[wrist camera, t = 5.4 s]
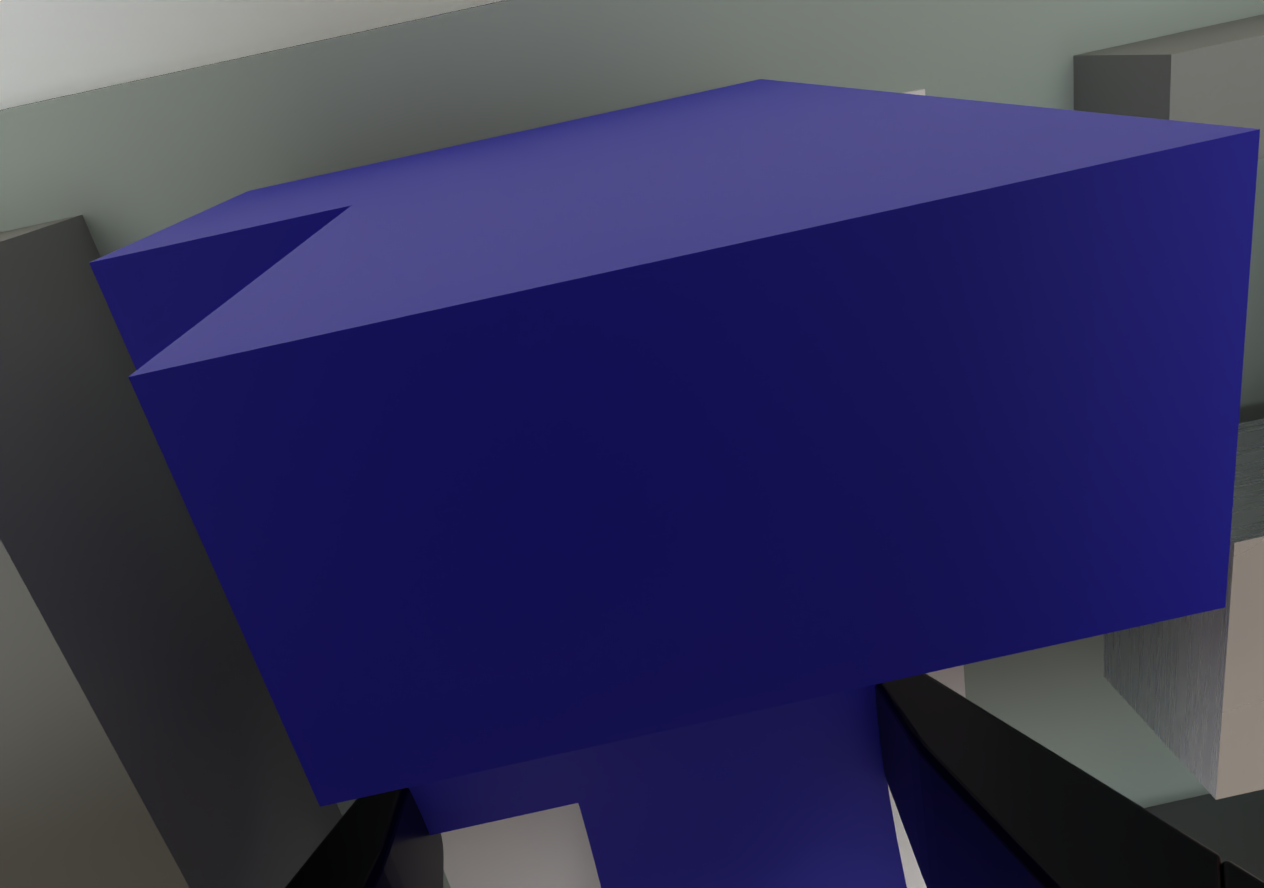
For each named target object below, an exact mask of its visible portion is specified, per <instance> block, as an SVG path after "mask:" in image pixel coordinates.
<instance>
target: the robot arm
mask: <svg viewBox="0 0 1264 888" xmlns="http://www.w3.org/2000/svg"><path fill="white" fill-rule="evenodd" d="M875 693H876V706H877V719H878V727H879V736H880V744H881V753H882V761H883V767H884V774H885V778H886V780H887V783H888V786H889V788H890V791H891V794H892V797H893V799H894V802H895V805H896V807H897V810H898V813H899V815H900V818H901V821H902V823H903V826H904V829H905V831H906V834H907V837H908V839H909V842H910V845H911V848H912V850H913V853H914V856H915V858H916V861H917V864H918V866H919V869H920V872H921V874H922V877H923V879H924V882H925V884H926V887H927V888H1264V881H1262V880H1261V879H1259V878H1257V877H1256V876H1254V875H1253V874H1251V873H1249V872H1248V871H1246V870H1244V869H1243V868H1241V867H1240V866H1238V865H1236V864H1235V863H1233V862H1231V861H1228V860H1226V861H1224V862H1223V863H1222V862H1221V857H1220V855H1219V854H1218V853H1216V852H1215V851H1213V850H1211V849H1210V848H1208V847H1206V846H1205V845H1203V844H1202V843H1200V842H1198V841H1197V840H1195V839H1193V838H1192V837H1190V836H1189V835H1187V834H1185V833H1184V832H1182V831H1180V830H1179V829H1177V828H1176V827H1174V826H1172V825H1171V824H1169V823H1168V822H1166V821H1164V820H1163V819H1161V818H1159V817H1158V816H1156V815H1155V814H1153V813H1151V812H1150V811H1148V810H1146V809H1145V808H1143V807H1142V806H1140V805H1138V804H1137V803H1135V802H1133V801H1132V800H1130V799H1129V798H1127V797H1125V796H1124V795H1122V794H1120V793H1119V792H1117V791H1116V790H1114V789H1112V788H1111V787H1109V786H1108V785H1106V784H1104V783H1103V782H1101V781H1099V780H1098V779H1096V778H1095V777H1093V776H1091V775H1090V774H1088V773H1086V772H1085V771H1083V770H1082V769H1080V768H1078V767H1077V766H1075V765H1073V764H1072V763H1070V762H1069V761H1067V760H1065V759H1064V758H1062V757H1060V756H1059V755H1057V754H1056V753H1054V752H1052V751H1051V750H1049V749H1048V748H1046V747H1044V746H1043V745H1041V744H1039V743H1038V742H1036V741H1035V740H1033V739H1031V738H1030V737H1028V736H1026V735H1025V734H1023V733H1022V732H1020V731H1018V730H1017V729H1015V728H1013V727H1012V726H1010V725H1009V724H1007V723H1005V722H1004V721H1002V720H1000V719H999V718H997V717H996V716H994V715H992V714H991V713H989V712H988V711H986V710H984V709H983V708H981V707H979V706H978V705H976V704H975V703H973V702H971V701H970V700H968V699H966V698H965V697H963V696H962V695H960V694H958V693H957V692H955V691H953V690H952V689H950V688H949V687H947V686H945V685H944V684H942V683H940V682H939V681H937V680H936V679H934V678H932V677H931V676H929V675H928V674H926V673H925V674H921V675H916V676H912V677H907V678H903V679H898V680H893V681H889V682H884V683H880V684H876V685H875ZM443 884H444V851H443V842H442V836H441V833H439V834H435V835H430V834H429V832H428V830H427V827H426V825H425V822H424V820H423V817H422V815H421V813H420V811H419V809H418V806H417V804H416V802H415V800H414V798H413V795H412V793H411V791H410V789H409V788H403V789H399V790H394V791H389V792H385V793H380V794H376V795H371V796H367V797H362V798H358V799H356V800H355V801H354V803H353V804H352V805H351V806H350V808H349V809H348V810H347V811H346V813H345V814H344V815H343V816H342V817H341V819H340V820H339V821H338V822H337V824H336V825H335V826H334V827H333V829H332V830H331V831H330V832H329V834H328V835H327V836H326V837H325V838H324V840H323V841H322V842H321V843H320V845H319V846H318V847H317V848H316V850H315V851H314V852H313V853H312V854H311V856H310V857H309V858H308V859H307V861H306V862H305V863H304V864H303V866H302V867H301V868H300V869H299V871H298V872H297V873H296V874H295V875H294V877H293V878H292V879H291V880H290V882H289V883H288V884H287V885H286V887H285V888H443Z"/></svg>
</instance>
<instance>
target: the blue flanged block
mask: <svg viewBox="0 0 1264 888" xmlns="http://www.w3.org/2000/svg"><path fill="white" fill-rule="evenodd" d="M1259 138H1260V129H1254V128H1244V127H1234V126H1224V125H1214V124H1204V123H1194V122H1184V121H1174V120H1164V119H1154V118H1144V117H1134V116H1124V115H1114V114H1104V113H1094V112H1085V111H1075V110H1065V109H1055V108H1045V107H1035V106H1025V105H1015V104H1005V103H995V102H985V101H975V100H965V99H955V98H945V97H935V96H925V95H915V94H905V93H895V92H885V91H876V90H866V89H856V88H846V87H836V86H826V85H816V84H806V83H796V82H786V81H776V80H766V79H758V80H754V81H749V82H744V83H740V84H735V85H731V86H726V87H722V88H717V89H712V90H708V91H703V92H699V93H694V94H690V95H685V96H680V97H676V98H671V99H667V100H662V101H658V102H653V103H648V104H644V105H639V106H635V107H630V108H625V109H621V110H616V111H612V112H607V113H603V114H598V115H593V116H589V117H584V118H580V119H575V120H571V121H566V122H561V123H557V124H552V125H548V126H543V127H538V128H534V129H529V130H525V131H520V132H516V133H511V134H506V135H502V136H497V137H493V138H488V139H484V140H479V141H474V142H470V143H465V144H461V145H456V146H452V147H447V148H442V149H438V150H433V151H429V152H424V153H419V154H415V155H410V156H406V157H401V158H397V159H392V160H387V161H383V162H378V163H374V164H369V165H365V166H360V167H355V168H351V169H346V170H342V171H337V172H332V173H328V174H323V175H319V176H314V177H310V178H305V179H300V180H296V181H291V182H287V183H282V184H278V185H273V186H268V187H264V188H259V189H255V190H250V191H247V192H245V193H243V194H240V195H238V196H236V197H234V198H231V199H229V200H227V201H225V202H223V203H220V204H218V205H216V206H214V207H211V208H209V209H207V210H205V211H203V212H200V213H198V214H196V215H194V216H192V217H189V218H187V219H185V220H183V221H180V222H178V223H176V224H174V225H172V226H169V227H167V228H165V229H163V230H160V231H158V232H156V233H154V234H152V235H149V236H147V237H145V238H143V239H140V240H138V241H136V242H134V243H132V244H129V245H127V246H125V247H123V248H121V249H118V250H116V251H114V252H112V253H109V254H107V255H105V256H103V257H101V258H98V259H96V260H94V261H92V262H89V264H90V266H91V268H92V271H93V273H94V275H95V277H96V280H97V282H98V284H99V286H100V289H101V291H102V293H103V295H104V298H105V300H106V302H107V305H108V307H109V309H110V311H111V314H112V316H113V318H114V320H115V323H116V325H117V327H118V330H119V332H120V334H121V336H122V339H123V341H124V343H125V345H126V348H127V350H128V352H129V354H130V357H131V359H132V361H133V364H134V366H135V368H136V370H137V371H135V372H134V373H133V374H131V375H130V376H129V377H128V378H129V380H130V382H131V384H132V387H133V389H134V391H135V393H136V396H137V398H138V400H139V402H140V405H141V407H142V409H143V411H144V414H145V416H146V418H147V420H148V422H149V425H150V427H151V429H152V431H153V434H154V436H155V438H156V440H157V443H158V445H159V447H160V449H161V452H162V454H163V456H164V458H165V461H166V463H167V465H168V467H169V470H170V472H171V474H172V476H173V479H174V481H175V483H176V485H177V488H178V490H179V492H180V494H181V496H182V499H183V501H184V503H185V505H186V508H187V510H188V512H189V514H190V517H191V519H192V521H193V523H194V526H195V528H196V530H197V532H198V535H199V537H200V539H201V541H202V544H203V546H204V548H205V550H206V553H207V555H208V557H209V559H210V561H211V564H212V566H213V568H214V570H215V573H216V575H217V577H218V579H219V582H220V584H221V586H222V588H223V591H224V593H225V595H226V597H227V600H228V602H229V604H230V606H231V609H232V611H233V613H234V615H235V618H236V620H237V622H238V624H239V626H240V629H241V631H242V633H243V635H244V638H245V640H246V642H247V644H248V647H249V649H250V651H251V653H252V656H253V658H254V660H255V662H256V665H257V667H258V669H259V671H260V674H261V676H262V678H263V680H264V683H265V685H266V687H267V689H268V692H269V694H270V696H271V698H272V700H273V703H274V705H275V707H276V709H277V712H278V714H279V716H280V718H281V721H282V723H283V725H284V727H285V730H286V732H287V734H288V736H289V739H290V741H291V743H292V745H293V748H294V750H295V752H296V754H297V757H298V759H299V761H300V763H301V765H302V768H303V770H304V772H305V774H306V777H307V779H308V781H309V783H310V786H311V788H312V790H313V792H314V795H315V797H316V799H317V801H318V804H319V806H320V807H321V806H326V805H330V804H335V803H340V802H344V801H349V800H353V799H358V798H362V797H367V796H371V795H376V794H380V793H385V792H389V791H394V790H399V789H403V788H409V789H410V791H411V793H412V795H413V798H414V800H415V802H416V804H417V806H418V809H419V811H420V813H421V815H422V817H423V820H424V822H425V825H426V827H427V830H428V832H429V834H430V835H435V834H439V833H444V832H448V831H453V830H457V829H462V828H466V827H471V826H475V825H480V824H485V823H489V822H494V821H498V820H503V819H507V818H512V817H516V816H521V815H525V814H530V813H534V812H539V811H544V810H548V809H553V808H557V807H562V806H566V805H571V804H575V803H578V804H579V807H580V811H581V814H582V818H583V821H584V825H585V828H586V832H587V836H588V839H589V843H590V847H591V851H592V854H593V858H594V862H595V866H596V870H597V874H598V878H599V882H600V886H601V888H907V886H906V881H905V876H904V871H903V866H902V861H901V856H900V851H899V846H898V841H897V836H896V830H895V824H894V819H893V813H892V808H891V802H890V796H889V789H888V783H887V780H886V778H885V774H884V767H883V761H882V753H881V744H880V736H879V727H878V719H877V706H876V693H875V685H876V684H880V683H884V682H889V681H893V680H898V679H903V678H907V677H912V676H916V675H921V674H925V673H930V672H934V671H939V670H943V669H948V668H953V667H957V666H962V665H966V664H971V663H975V662H980V661H984V660H989V659H993V658H998V657H1002V656H1007V655H1012V654H1016V653H1021V652H1025V651H1030V650H1034V649H1039V648H1043V647H1048V646H1052V645H1057V644H1061V643H1066V642H1071V641H1075V640H1080V639H1084V638H1089V637H1093V636H1098V635H1102V634H1107V633H1111V632H1116V631H1121V630H1125V629H1130V628H1134V627H1139V626H1143V625H1148V624H1152V623H1157V622H1161V621H1166V620H1170V619H1175V618H1180V617H1184V616H1189V615H1193V614H1198V613H1202V612H1207V611H1211V610H1216V609H1220V608H1225V605H1226V592H1227V578H1228V564H1229V550H1230V537H1231V523H1232V509H1233V495H1234V482H1235V468H1236V454H1237V440H1238V427H1239V413H1240V399H1241V385H1242V372H1243V358H1244V344H1245V330H1246V317H1247V303H1248V289H1249V275H1250V262H1251V248H1252V234H1253V220H1254V207H1255V193H1256V179H1257V165H1258V152H1259Z"/></svg>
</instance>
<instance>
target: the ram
mask: <svg viewBox="0 0 1264 888" xmlns="http://www.w3.org/2000/svg"><path fill="white" fill-rule="evenodd" d="M1104 677H1105V678H1106V680H1107V681H1108V682H1109V683H1110V684H1111V685H1112V686H1113V687H1114V688H1115V689H1116V691H1117V692H1118V693H1119V694H1120V695H1121V696H1122V697H1123V698H1124V699H1125V700H1126V701H1127V703H1128V704H1129V705H1130V706H1131V707H1132V708H1133V709H1134V710H1135V711H1136V712H1137V714H1138V715H1139V716H1140V717H1141V718H1142V719H1143V720H1144V721H1145V722H1146V723H1147V725H1148V726H1149V727H1150V728H1151V729H1152V730H1153V731H1154V732H1155V733H1156V734H1157V736H1158V737H1159V738H1160V739H1161V740H1162V741H1163V742H1164V743H1165V744H1166V745H1167V747H1168V748H1169V749H1170V750H1171V751H1172V752H1173V753H1174V754H1175V755H1176V756H1177V758H1178V759H1179V760H1180V761H1181V762H1182V763H1183V764H1184V765H1185V766H1186V767H1187V769H1188V770H1189V771H1190V772H1191V773H1192V774H1193V775H1194V776H1195V777H1196V778H1197V780H1198V781H1199V782H1200V783H1201V784H1202V785H1203V786H1204V787H1205V788H1206V789H1207V791H1208V792H1209V793H1210V794H1211V795H1212V796H1213V797H1214V798H1215V799H1216V800H1217V799H1222V798H1226V797H1231V796H1235V795H1240V794H1244V793H1249V792H1253V791H1258V790H1262V789H1264V418H1261V419H1257V420H1252V421H1248V422H1243V423H1239V427H1238V440H1237V454H1236V468H1235V482H1234V495H1233V509H1232V523H1231V537H1230V550H1229V564H1228V578H1227V592H1226V605H1225V608H1220V609H1216V610H1211V611H1207V612H1202V613H1198V614H1193V615H1189V616H1184V617H1180V618H1175V619H1170V620H1166V621H1161V622H1157V623H1152V624H1148V625H1143V626H1139V627H1134V628H1130V629H1125V630H1121V631H1116V632H1111V633H1107V634H1104Z"/></svg>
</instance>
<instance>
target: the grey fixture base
mask: <svg viewBox="0 0 1264 888" xmlns="http://www.w3.org/2000/svg"><path fill="white" fill-rule="evenodd" d="M758 79H766V80H776V81H786V82H796V83H806V84H816V85H826V86H836V87H846V88H856V89H866V90H876V91H885V92H895V93H905V94H915V95H925V96H935V97H945V98H955V99H965V100H975V101H985V102H995V103H1005V104H1015V105H1025V106H1035V107H1045V108H1055V109H1065V110H1075V111H1085V112H1094V113H1104V114H1114V115H1124V116H1134V117H1144V118H1154V119H1164V120H1174V121H1184V122H1194V123H1204V124H1214V125H1224V126H1234V127H1244V128H1254V129H1260V138H1259V152H1258V165H1257V179H1256V193H1255V207H1254V220H1253V234H1252V248H1251V262H1250V275H1249V289H1248V303H1247V317H1246V330H1245V344H1244V358H1243V372H1242V385H1241V399H1240V413H1239V423H1243V422H1248V421H1252V420H1257V419H1261V418H1264V0H505V1H501V2H496V3H491V4H487V5H482V6H478V7H473V8H468V9H464V10H459V11H455V12H450V13H445V14H441V15H436V16H432V17H427V18H422V19H418V20H413V21H409V22H404V23H399V24H395V25H390V26H385V27H381V28H376V29H372V30H367V31H362V32H358V33H353V34H349V35H344V36H339V37H335V38H330V39H326V40H321V41H316V42H312V43H307V44H303V45H298V46H293V47H289V48H284V49H280V50H275V51H270V52H266V53H261V54H257V55H252V56H247V57H243V58H238V59H234V60H229V61H224V62H220V63H215V64H211V65H206V66H201V67H197V68H192V69H188V70H183V71H178V72H174V73H169V74H165V75H160V76H155V77H151V78H146V79H142V80H137V81H132V82H128V83H123V84H118V85H114V86H109V87H105V88H100V89H95V90H91V91H86V92H82V93H77V94H72V95H68V96H63V97H59V98H54V99H49V100H45V101H40V102H36V103H31V104H26V105H22V106H17V107H13V108H8V109H3V110H0V888H285V887H286V885H287V884H288V883H289V882H290V880H291V879H292V878H293V877H294V875H295V874H296V873H297V872H298V871H299V869H300V868H301V867H302V866H303V864H304V863H305V862H306V861H307V859H308V858H309V857H310V856H311V854H312V853H313V852H314V851H315V850H316V848H317V847H318V846H319V845H320V843H321V842H322V841H323V840H324V838H325V837H326V836H327V835H328V834H329V832H330V831H331V830H332V829H333V827H334V826H335V825H336V824H337V822H338V821H339V820H340V819H341V817H342V816H343V815H344V814H345V813H346V811H347V810H348V809H349V808H350V806H351V805H352V804H353V803H354V801H355V800H356V799H353V800H349V801H344V802H340V803H335V804H330V805H326V806H321V807H320V806H319V804H318V801H317V799H316V797H315V795H314V792H313V790H312V788H311V786H310V783H309V781H308V779H307V777H306V774H305V772H304V770H303V768H302V765H301V763H300V761H299V759H298V757H297V754H296V752H295V750H294V748H293V745H292V743H291V741H290V739H289V736H288V734H287V732H286V730H285V727H284V725H283V723H282V721H281V718H280V716H279V714H278V712H277V709H276V707H275V705H274V703H273V700H272V698H271V696H270V694H269V692H268V689H267V687H266V685H265V683H264V680H263V678H262V676H261V674H260V671H259V669H258V667H257V665H256V662H255V660H254V658H253V656H252V653H251V651H250V649H249V647H248V644H247V642H246V640H245V638H244V635H243V633H242V631H241V629H240V626H239V624H238V622H237V620H236V618H235V615H234V613H233V611H232V609H231V606H230V604H229V602H228V600H227V597H226V595H225V593H224V591H223V588H222V586H221V584H220V582H219V579H218V577H217V575H216V573H215V570H214V568H213V566H212V564H211V561H210V559H209V557H208V555H207V553H206V550H205V548H204V546H203V544H202V541H201V539H200V537H199V535H198V532H197V530H196V528H195V526H194V523H193V521H192V519H191V517H190V514H189V512H188V510H187V508H186V505H185V503H184V501H183V499H182V496H181V494H180V492H179V490H178V488H177V485H176V483H175V481H174V479H173V476H172V474H171V472H170V470H169V467H168V465H167V463H166V461H165V458H164V456H163V454H162V452H161V449H160V447H159V445H158V443H157V440H156V438H155V436H154V434H153V431H152V429H151V427H150V425H149V422H148V420H147V418H146V416H145V414H144V411H143V409H142V407H141V405H140V402H139V400H138V398H137V396H136V393H135V391H134V389H133V387H132V384H131V382H130V380H129V378H128V377H129V376H130V375H131V374H133V373H134V372H135V371H137V370H136V368H135V366H134V364H133V361H132V359H131V357H130V354H129V352H128V350H127V348H126V345H125V343H124V341H123V339H122V336H121V334H120V332H119V330H118V327H117V325H116V323H115V320H114V318H113V316H112V314H111V311H110V309H109V307H108V305H107V302H106V300H105V298H104V295H103V293H102V291H101V289H100V286H99V284H98V282H97V280H96V277H95V275H94V273H93V271H92V268H91V266H90V264H89V262H92V261H94V260H96V259H98V258H101V257H103V256H105V255H107V254H109V253H112V252H114V251H116V250H118V249H121V248H123V247H125V246H127V245H129V244H132V243H134V242H136V241H138V240H140V239H143V238H145V237H147V236H149V235H152V234H154V233H156V232H158V231H160V230H163V229H165V228H167V227H169V226H172V225H174V224H176V223H178V222H180V221H183V220H185V219H187V218H189V217H192V216H194V215H196V214H198V213H200V212H203V211H205V210H207V209H209V208H211V207H214V206H216V205H218V204H220V203H223V202H225V201H227V200H229V199H231V198H234V197H236V196H238V195H240V194H243V193H245V192H247V191H250V190H255V189H259V188H264V187H268V186H273V185H278V184H282V183H287V182H291V181H296V180H300V179H305V178H310V177H314V176H319V175H323V174H328V173H332V172H337V171H342V170H346V169H351V168H355V167H360V166H365V165H369V164H374V163H378V162H383V161H387V160H392V159H397V158H401V157H406V156H410V155H415V154H419V153H424V152H429V151H433V150H438V149H442V148H447V147H452V146H456V145H461V144H465V143H470V142H474V141H479V140H484V139H488V138H493V137H497V136H502V135H506V134H511V133H516V132H520V131H525V130H529V129H534V128H538V127H543V126H548V125H552V124H557V123H561V122H566V121H571V120H575V119H580V118H584V117H589V116H593V115H598V114H603V113H607V112H612V111H616V110H621V109H625V108H630V107H635V106H639V105H644V104H648V103H653V102H658V101H662V100H667V99H671V98H676V97H680V96H685V95H690V94H694V93H699V92H703V91H708V90H712V89H717V88H722V87H726V86H731V85H735V84H740V83H744V82H749V81H754V80H758ZM926 674H928V675H929V676H931V677H932V678H934V679H936V680H937V681H939V682H940V683H942V684H944V685H945V686H947V687H949V688H950V689H952V690H953V691H955V692H957V693H958V694H960V695H962V696H963V697H965V698H966V699H968V700H970V701H971V702H973V703H975V704H976V705H978V706H979V707H981V708H983V709H984V710H986V711H988V712H989V713H991V714H992V715H994V716H996V717H997V718H999V719H1000V720H1002V721H1004V722H1005V723H1007V724H1009V725H1010V726H1012V727H1013V728H1015V729H1017V730H1018V731H1020V732H1022V733H1023V734H1025V735H1026V736H1028V737H1030V738H1031V739H1033V740H1035V741H1036V742H1038V743H1039V744H1041V745H1043V746H1044V747H1046V748H1048V749H1049V750H1051V751H1052V752H1054V753H1056V754H1057V755H1059V756H1060V757H1062V758H1064V759H1065V760H1067V761H1069V762H1070V763H1072V764H1073V765H1075V766H1077V767H1078V768H1080V769H1082V770H1083V771H1085V772H1086V773H1088V774H1090V775H1091V776H1093V777H1095V778H1096V779H1098V780H1099V781H1101V782H1103V783H1104V784H1106V785H1108V786H1109V787H1111V788H1112V789H1114V790H1116V791H1117V792H1119V793H1120V794H1122V795H1124V796H1125V797H1127V798H1129V799H1130V800H1132V801H1133V802H1135V803H1137V804H1138V805H1140V806H1142V807H1143V808H1145V809H1146V810H1148V811H1150V812H1151V813H1153V814H1155V815H1156V816H1158V817H1159V818H1161V819H1163V820H1164V821H1166V822H1168V823H1169V824H1171V825H1172V826H1174V827H1176V828H1177V829H1179V830H1180V831H1182V832H1184V833H1185V834H1187V835H1189V836H1190V837H1192V838H1193V839H1195V840H1197V841H1198V842H1200V843H1202V844H1203V845H1205V846H1206V847H1208V848H1210V849H1211V850H1213V851H1215V852H1216V853H1218V854H1219V855H1220V857H1221V862H1222V863H1223V862H1224V861H1226V860H1228V861H1231V862H1233V863H1235V864H1236V865H1238V866H1240V867H1241V868H1243V869H1244V870H1246V871H1248V872H1249V873H1251V874H1253V875H1254V876H1256V877H1257V878H1259V879H1261V880H1262V881H1264V789H1262V790H1258V791H1253V792H1249V793H1244V794H1240V795H1235V796H1231V797H1226V798H1222V799H1217V800H1216V799H1215V798H1214V797H1213V796H1212V795H1211V794H1210V793H1209V792H1208V791H1207V789H1206V788H1205V787H1204V786H1203V785H1202V784H1201V783H1200V782H1199V781H1198V780H1197V778H1196V777H1195V776H1194V775H1193V774H1192V773H1191V772H1190V771H1189V770H1188V769H1187V767H1186V766H1185V765H1184V764H1183V763H1182V762H1181V761H1180V760H1179V759H1178V758H1177V756H1176V755H1175V754H1174V753H1173V752H1172V751H1171V750H1170V749H1169V748H1168V747H1167V745H1166V744H1165V743H1164V742H1163V741H1162V740H1161V739H1160V738H1159V737H1158V736H1157V734H1156V733H1155V732H1154V731H1153V730H1152V729H1151V728H1150V727H1149V726H1148V725H1147V723H1146V722H1145V721H1144V720H1143V719H1142V718H1141V717H1140V716H1139V715H1138V714H1137V712H1136V711H1135V710H1134V709H1133V708H1132V707H1131V706H1130V705H1129V704H1128V703H1127V701H1126V700H1125V699H1124V698H1123V697H1122V696H1121V695H1120V694H1119V693H1118V692H1117V691H1116V689H1115V688H1114V687H1113V686H1112V685H1111V684H1110V683H1109V682H1108V681H1107V680H1106V678H1105V677H1104V634H1102V635H1098V636H1093V637H1089V638H1084V639H1080V640H1075V641H1071V642H1066V643H1061V644H1057V645H1052V646H1048V647H1043V648H1039V649H1034V650H1030V651H1025V652H1021V653H1016V654H1012V655H1007V656H1002V657H998V658H993V659H989V660H984V661H980V662H975V663H971V664H966V665H962V666H957V667H953V668H948V669H943V670H939V671H934V672H930V673H926ZM888 789H889V796H890V802H891V808H892V813H893V819H894V824H895V830H896V836H897V841H898V846H899V851H900V856H901V861H902V866H903V871H904V876H905V881H906V886H907V888H927V887H926V884H925V882H924V879H923V877H922V874H921V872H920V869H919V866H918V864H917V861H916V858H915V856H914V853H913V850H912V848H911V845H910V842H909V839H908V837H907V834H906V831H905V829H904V826H903V823H902V821H901V818H900V815H899V813H898V810H897V807H896V805H895V802H894V799H893V797H892V794H891V791H890V788H889V786H888ZM441 836H442V842H443V851H444V884H443V888H601V886H600V882H599V878H598V874H597V870H596V866H595V862H594V858H593V854H592V851H591V847H590V843H589V839H588V836H587V832H586V828H585V825H584V821H583V818H582V814H581V811H580V807H579V804H578V803H575V804H571V805H566V806H562V807H557V808H553V809H548V810H544V811H539V812H534V813H530V814H525V815H521V816H516V817H512V818H507V819H503V820H498V821H494V822H489V823H485V824H480V825H475V826H471V827H466V828H462V829H457V830H453V831H448V832H444V833H441Z"/></svg>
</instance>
